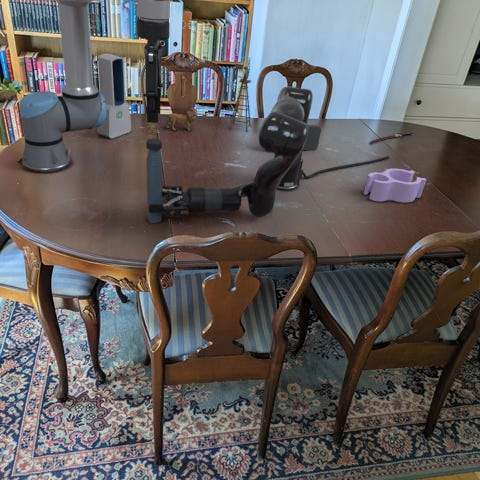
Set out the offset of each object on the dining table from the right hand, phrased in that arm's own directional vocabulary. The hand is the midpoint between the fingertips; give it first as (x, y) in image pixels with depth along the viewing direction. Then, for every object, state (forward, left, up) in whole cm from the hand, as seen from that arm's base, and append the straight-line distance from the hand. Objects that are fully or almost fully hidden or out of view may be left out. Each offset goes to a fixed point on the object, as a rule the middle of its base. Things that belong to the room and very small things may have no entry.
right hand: (148, 201), depth 132 cm
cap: (-2, +1, +17) cm, 18 cm away
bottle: (-2, +1, -6) cm, 6 cm away
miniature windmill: (-73, -52, -6) cm, 90 cm away
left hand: (-2, +1, +24) cm, 24 cm away
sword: (-130, -12, -6) cm, 131 cm away
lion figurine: (-47, -61, -6) cm, 77 cm away
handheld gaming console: (-77, -22, -6) cm, 80 cm away
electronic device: (-20, -66, -6) cm, 70 cm away
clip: (-82, +25, -6) cm, 86 cm away
